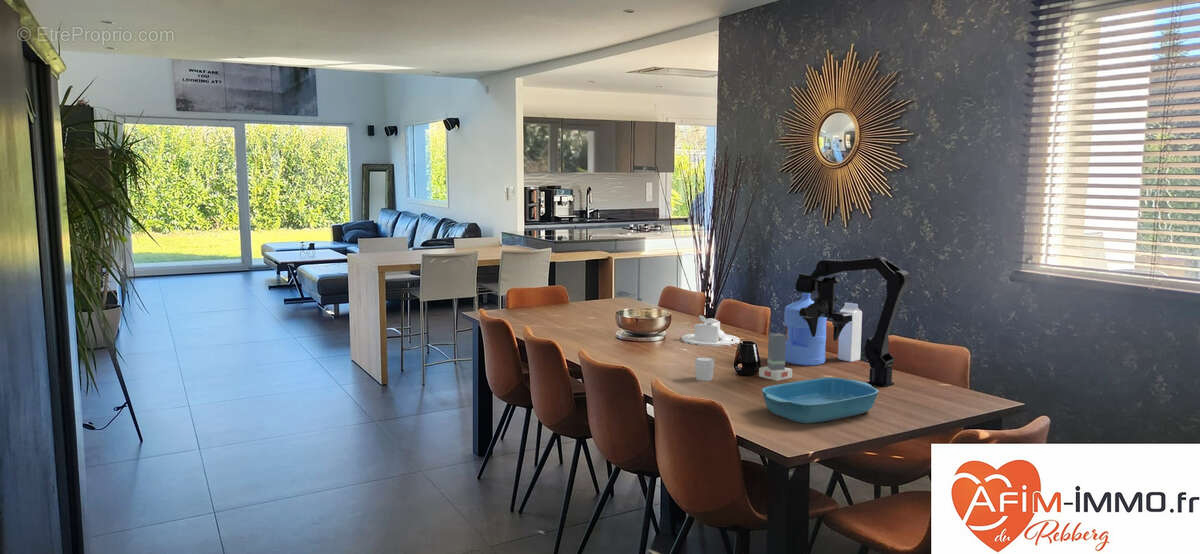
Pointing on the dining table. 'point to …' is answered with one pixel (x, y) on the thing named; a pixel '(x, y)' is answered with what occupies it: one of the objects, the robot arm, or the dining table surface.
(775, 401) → the casserole dish
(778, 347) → the column
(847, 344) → the milk
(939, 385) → the dining table surface
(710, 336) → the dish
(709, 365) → the white cylinder
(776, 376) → the white flat box
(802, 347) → the water jug
